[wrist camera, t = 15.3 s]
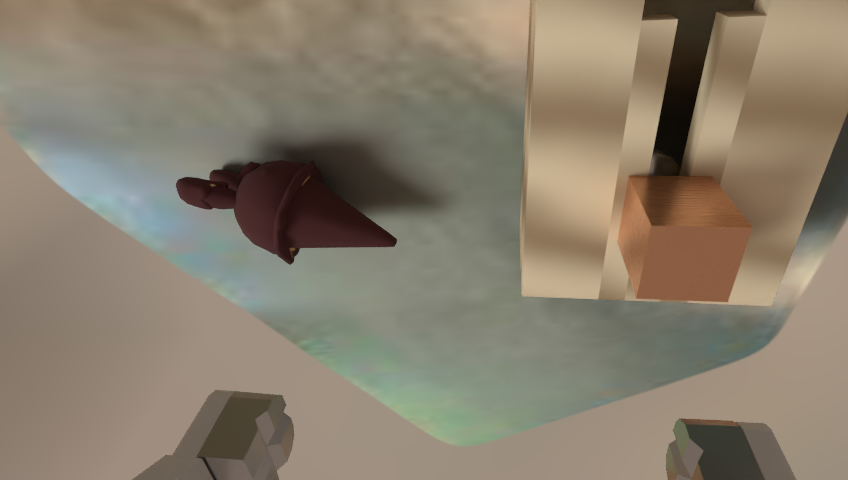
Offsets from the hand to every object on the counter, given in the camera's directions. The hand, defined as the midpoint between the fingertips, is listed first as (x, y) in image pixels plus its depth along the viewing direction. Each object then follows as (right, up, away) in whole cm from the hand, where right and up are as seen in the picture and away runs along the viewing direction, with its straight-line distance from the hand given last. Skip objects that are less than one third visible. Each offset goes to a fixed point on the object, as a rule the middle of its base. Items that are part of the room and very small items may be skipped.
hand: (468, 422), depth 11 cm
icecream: (-10, +8, +27) cm, 30 cm away
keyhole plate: (+12, +14, +19) cm, 27 cm away
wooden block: (+12, +7, +19) cm, 24 cm away
